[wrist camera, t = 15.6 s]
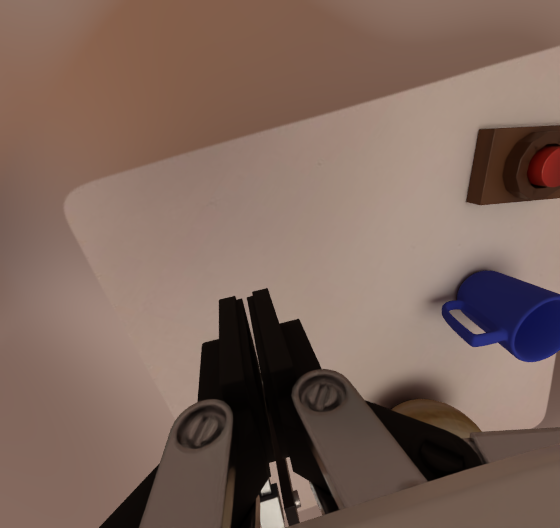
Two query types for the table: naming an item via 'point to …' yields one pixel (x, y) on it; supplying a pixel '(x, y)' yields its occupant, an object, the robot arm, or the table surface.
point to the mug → (508, 315)
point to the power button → (545, 167)
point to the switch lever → (270, 505)
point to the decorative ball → (438, 416)
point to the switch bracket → (284, 478)
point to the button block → (509, 165)
